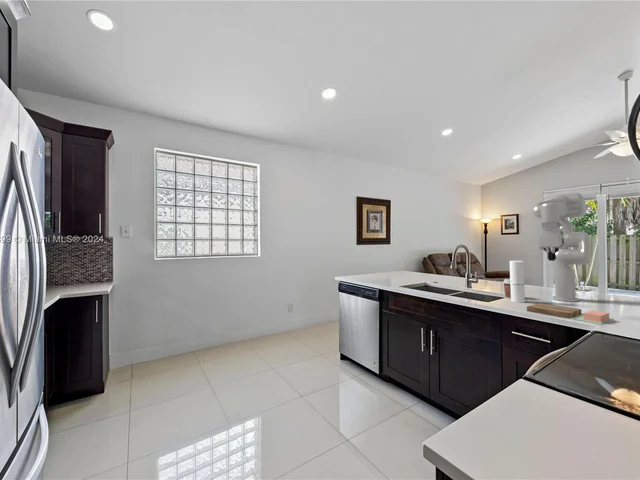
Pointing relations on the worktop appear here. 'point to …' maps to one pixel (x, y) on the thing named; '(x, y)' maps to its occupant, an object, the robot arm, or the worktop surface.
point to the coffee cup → (507, 288)
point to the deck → (554, 310)
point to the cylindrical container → (517, 281)
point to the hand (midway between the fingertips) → (551, 260)
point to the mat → (581, 318)
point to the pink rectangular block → (596, 316)
